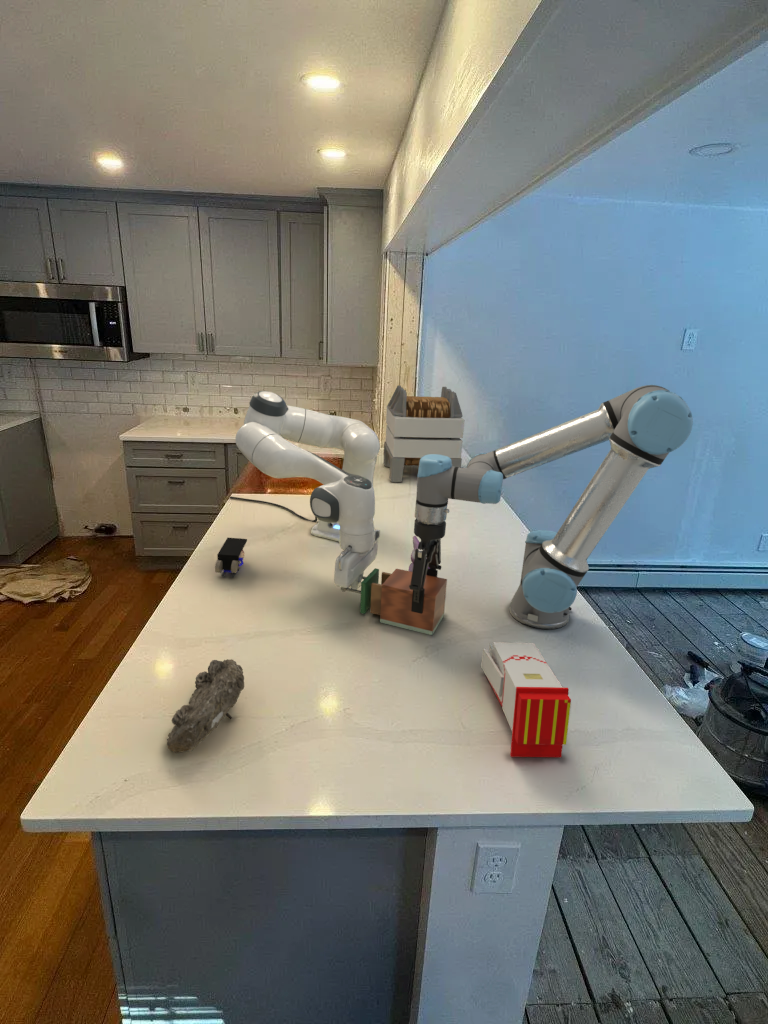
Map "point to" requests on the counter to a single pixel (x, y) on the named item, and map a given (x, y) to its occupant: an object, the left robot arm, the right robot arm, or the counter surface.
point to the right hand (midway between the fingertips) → (423, 601)
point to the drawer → (370, 592)
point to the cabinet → (400, 602)
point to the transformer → (422, 430)
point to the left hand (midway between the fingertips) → (356, 588)
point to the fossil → (206, 705)
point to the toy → (528, 698)
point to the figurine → (415, 545)
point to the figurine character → (230, 556)
